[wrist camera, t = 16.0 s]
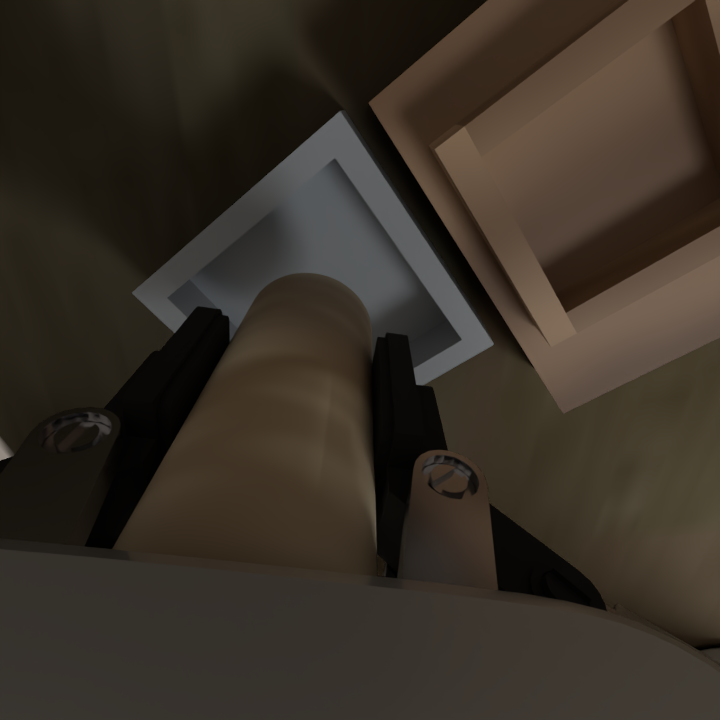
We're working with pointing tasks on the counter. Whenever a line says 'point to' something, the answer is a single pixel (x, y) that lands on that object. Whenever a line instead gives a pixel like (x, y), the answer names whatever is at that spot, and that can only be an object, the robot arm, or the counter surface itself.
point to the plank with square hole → (577, 176)
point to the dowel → (276, 442)
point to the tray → (327, 252)
